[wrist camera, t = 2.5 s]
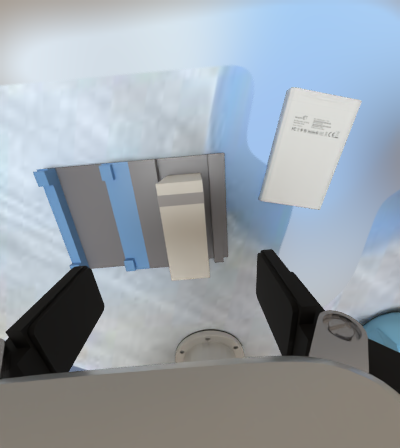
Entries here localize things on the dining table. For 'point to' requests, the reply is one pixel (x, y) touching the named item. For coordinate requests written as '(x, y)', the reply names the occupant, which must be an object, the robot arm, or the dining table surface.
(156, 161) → the board
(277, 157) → the external hard drive
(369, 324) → the teapot
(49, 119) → the dining table surface
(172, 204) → the block
